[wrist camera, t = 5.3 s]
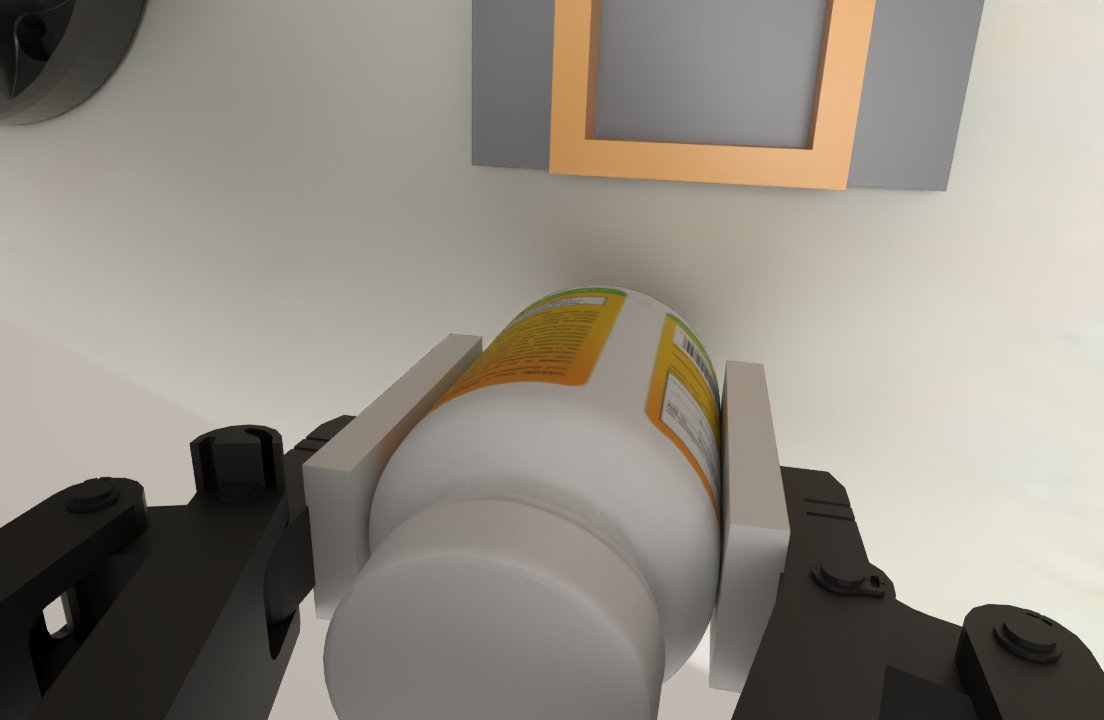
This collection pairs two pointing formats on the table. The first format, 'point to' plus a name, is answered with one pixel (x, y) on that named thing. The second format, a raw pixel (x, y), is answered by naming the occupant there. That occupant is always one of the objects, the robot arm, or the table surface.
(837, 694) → the robot arm
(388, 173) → the table surface
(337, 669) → the supplement bottle
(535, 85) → the orange bottle caddy
